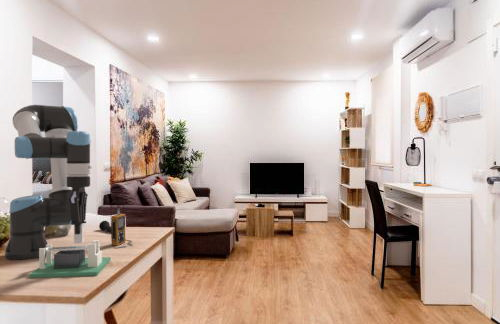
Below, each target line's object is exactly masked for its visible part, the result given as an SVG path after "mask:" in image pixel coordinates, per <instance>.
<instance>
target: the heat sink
mask: <svg viewBox="0 0 500 324" xmlns="http://www.w3.org/2000/svg"><path fill="white" fill-rule="evenodd" d="M85 258H86V249H84V250H65V251H56V253H54V254H53V259H54V266H53V269H69V268H79V267H80V266H81V265H82V264H83V263H84V262H85Z"/></svg>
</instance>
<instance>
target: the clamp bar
mask: <svg viewBox="0 0 500 324" xmlns="http://www.w3.org/2000/svg"><path fill="white" fill-rule="evenodd" d="M84 249H85V250H88V245H75V246H73V245H72V246H71V245H70V246H56V247H55V246H52V247H51V248H50V246H46V247H45V252H47V251H52V252H59V251H65V250H84Z"/></svg>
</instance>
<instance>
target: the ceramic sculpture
mask: <svg viewBox="0 0 500 324" xmlns="http://www.w3.org/2000/svg"><path fill="white" fill-rule="evenodd" d="M71 227H72V225H71V224H70V225H59V226H47V227H44V235H45V238H56V237H59V236H68V235H69V234H70V233H69V232H70V230H71Z"/></svg>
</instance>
